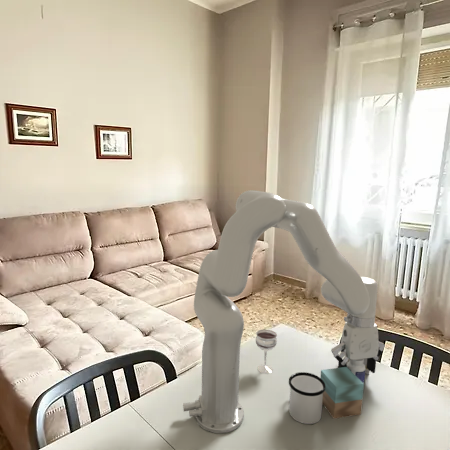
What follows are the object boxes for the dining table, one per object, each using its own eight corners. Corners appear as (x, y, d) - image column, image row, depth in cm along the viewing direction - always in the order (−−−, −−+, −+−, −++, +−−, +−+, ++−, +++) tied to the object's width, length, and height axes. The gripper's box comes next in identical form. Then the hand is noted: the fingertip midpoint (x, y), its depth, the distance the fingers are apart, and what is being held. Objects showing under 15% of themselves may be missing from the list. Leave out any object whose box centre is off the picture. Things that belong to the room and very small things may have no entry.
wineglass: (279, 370, 112) (281, 335, 110) (265, 377, 108) (267, 341, 106) (264, 360, 117) (266, 327, 115) (250, 367, 113) (251, 333, 111)
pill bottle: (365, 383, 106) (368, 356, 105) (361, 392, 102) (364, 364, 101) (347, 377, 109) (349, 350, 108) (343, 385, 105) (345, 358, 103)
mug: (330, 422, 89) (333, 390, 88) (297, 429, 87) (299, 396, 85) (306, 393, 101) (308, 364, 99) (276, 399, 98) (278, 369, 97)
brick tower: (333, 418, 91) (336, 387, 89) (318, 399, 99) (321, 369, 97) (360, 414, 93) (363, 383, 91) (344, 395, 100) (346, 366, 99)
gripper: (341, 327, 97) (337, 383, 100) (395, 322, 101) (389, 376, 104) (327, 316, 104) (324, 369, 107) (378, 311, 108) (373, 362, 111)
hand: (356, 372), depth 105 cm, fingers open, 9 cm apart
